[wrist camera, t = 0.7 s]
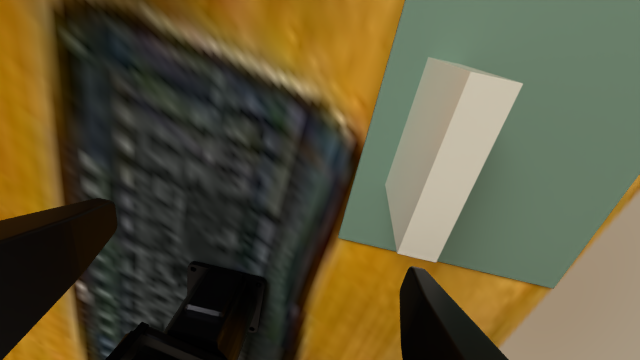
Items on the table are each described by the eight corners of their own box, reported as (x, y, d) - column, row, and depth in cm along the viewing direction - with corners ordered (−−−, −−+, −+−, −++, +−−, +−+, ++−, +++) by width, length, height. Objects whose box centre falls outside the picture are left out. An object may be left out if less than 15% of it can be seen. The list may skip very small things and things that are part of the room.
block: (414, 191, 20) (440, 263, 14) (385, 184, 20) (397, 253, 14) (464, 65, 17) (528, 84, 10) (428, 56, 17) (470, 71, 10)
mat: (550, 284, 23) (553, 288, 22) (338, 234, 23) (338, 237, 22) (751, 11, 15) (762, 10, 14) (422, -63, 15) (424, -65, 14)
